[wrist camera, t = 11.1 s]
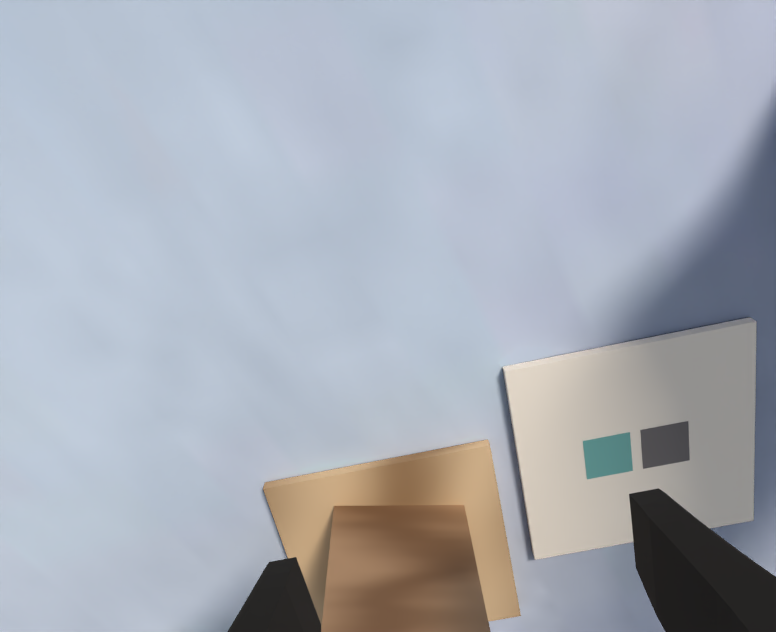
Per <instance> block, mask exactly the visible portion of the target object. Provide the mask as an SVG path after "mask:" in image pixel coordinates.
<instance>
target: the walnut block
mask: <svg viewBox="0 0 776 632" xmlns="http://www.w3.org/2000/svg"><path fill="white" fill-rule="evenodd" d="M321 632H490V627H489V623H488V618H487V613H486V608H485V603H484V598H483V594H482V589H481V584H480V579H479V574H478V569H477V564H476V560H475V555H474V550H473V545H472V540H471V535H470V531H469V526H468V521H467V516H466V511H465V506H464V505H387V506H334V510H333V520H332V529H331V539H330V549H329V559H328V569H327V578H326V588H325V598H324V608H323V618H322V627H321Z"/></svg>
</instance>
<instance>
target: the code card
mask: <svg viewBox="0 0 776 632" xmlns="http://www.w3.org/2000/svg"><path fill="white" fill-rule="evenodd" d="M756 323H757V321H755V320H753V319H752V318H750V317H749V318H744V319H739V320H734V321H729V322H724V323H719V324H714V325H709V326H704V327H699V328H694V329H689V330H684V331H679V332H674V333H669V334H664V335H659V336H654V337H649V338H644V339H639V340H634V341H629V342H624V343H619V344H614V345H609V346H604V347H599V348H594V349H589V350H584V351H579V352H574V353H569V354H564V355H559V356H554V357H549V358H544V359H539V360H534V361H529V362H524V363H519V364H514V365H509V366H504V367H503V373H504V379H505V385H506V391H507V397H508V404H509V410H510V416H511V422H512V428H513V434H514V441H515V447H516V453H517V459H518V465H519V471H520V478H521V484H522V490H523V496H524V502H525V509H526V515H527V521H528V527H529V533H530V539H531V546H532V552H533V555H534V558H535V560H537V559H542V558H548V557H553V556H559V555H564V554H570V553H576V552H581V551H587V550H592V549H598V548H604V547H609V546H615V545H620V544H626V543H631V542H634V541H633V530H632V520H631V509H630V499H629V494H631V493H636V492H642V491H647V490H652V489H657V488H659V489H660V490H662V491H663V492H665V493H666V494H667V495H668V496H670V497H671V498H672V499H673V500H675V501H676V502H677V503H678V504H679V505H681V506H682V507H683V508H684V509H686V510H687V511H688V512H689V513H691V514H692V515H693V516H694V517H696V518H697V519H698V520H699V521H701V522H702V523H703V524H704V525H706V526H707V527H708V528H715V527H721V526H726V525H732V524H737V523H743V522H749V521H754V457H755V390H756Z"/></svg>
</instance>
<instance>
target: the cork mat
mask: <svg viewBox="0 0 776 632" xmlns="http://www.w3.org/2000/svg"><path fill="white" fill-rule="evenodd" d="M263 490H264V493H265V496H266V499H267V501H268V504H269V507H270V510H271V512H272V515H273V518H274V521H275V524H276V526H277V529H278V532H279V535H280V537H281V540H282V543H283V546H284V549H285V551H286V554H287V557H288V559H289V558H294V557H296V558H297V561H298V564H299V566H300V569H301V572H302V574H303V577H304V580H305V582H306V585H307V588H308V590H309V593H310V596H311V598H312V601H313V604H314V607H315V609H316V612H317V615H318V617H319V620H320V623H321V627H322V618H323V608H324V598H325V588H326V578H327V569H328V559H329V549H330V539H331V529H332V520H333V510H334V506H387V505H464V506H465V511H466V516H467V521H468V526H469V531H470V535H471V540H472V545H473V550H474V555H475V560H476V564H477V569H478V574H479V579H480V584H481V589H482V594H483V598H484V603H485V608H486V613H487V618H488V621H494V620H500V619H505V618H511V617H517V616H521V615H520V609H519V604H518V598H517V593H516V587H515V582H514V576H513V571H512V565H511V560H510V554H509V548H508V543H507V537H506V532H505V526H504V521H503V515H502V510H501V504H500V499H499V493H498V488H497V482H496V476H495V471H494V465H493V460H492V454H491V449H490V444H489V441H488V440H483V441H478V442H473V443H468V444H463V445H457V446H452V447H447V448H442V449H437V450H431V451H426V452H421V453H416V454H411V455H406V456H400V457H395V458H390V459H385V460H380V461H374V462H369V463H364V464H359V465H354V466H348V467H343V468H338V469H333V470H328V471H323V472H317V473H312V474H307V475H302V476H297V477H291V478H286V479H281V480H276V481H271V482H266V483H265V484H264V488H263Z"/></svg>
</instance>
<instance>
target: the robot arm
mask: <svg viewBox="0 0 776 632" xmlns="http://www.w3.org/2000/svg"><path fill="white" fill-rule="evenodd" d="M629 499H630V509H631V520H632V530H633V541H634V551H635V562H636V569H637V571H638V574H639V576H640V578H641V581H642V583H643V585H644V588H645V590H646V592H647V595H648V597H649V599H650V601H651V604H652V606H653V608H654V610H655V613H656V615H657V617H658V619H659V621H660V622H661V624H662V626H663V628H664V630H665V631H666V632H776V577H775V576H774V575H772V574H771V573H769V572H768V571H767V570H765V569H764V568H762V567H761V566H759V565H758V564H757V563H755V562H754V561H752V560H751V559H750V558H748V557H747V556H746V555H744V554H743V553H741V552H740V551H739V550H737V549H736V548H735V547H733V546H732V545H731V544H729V543H728V542H726V541H725V540H724V539H723V538H721V537H720V536H719V535H717V534H716V533H715V532H713V531H712V530H711V529H710V528H708V527H707V526H706V525H704V524H703V523H702V522H701V521H699V520H698V519H697V518H696V517H694V516H693V515H692V514H691V513H689V512H688V511H687V510H686V509H684V508H683V507H682V506H681V505H679V504H678V503H677V502H676V501H675V500H673V499H672V498H671V497H670V496H668V495H667V494H666V493H665V492H663V491H662V490H660V489H659V488H657V489H652V490H647V491H642V492H636V493H631V494H629ZM228 632H321V623H320V620H319V617H318V615H317V612H316V609H315V607H314V604H313V601H312V598H311V596H310V593H309V590H308V588H307V585H306V582H305V580H304V577H303V574H302V572H301V569H300V566H299V564H298V561H297V558H296V557H294V558H289V559H283V560H278V561H273V562H269V563H268V565H267V566H266V568H265V569H264V571H263V573H262V574H261V576H260V578H259V580H258V581H257V583H256V585H255V586H254V588H253V590H252V592H251V593H250V595H249V597H248V598H247V600H246V602H245V604H244V605H243V607H242V609H241V610H240V612H239V614H238V615H237V617H236V619H235V620H234V622H233V624H232V625H231V627H230V628H229V630H228Z"/></svg>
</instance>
